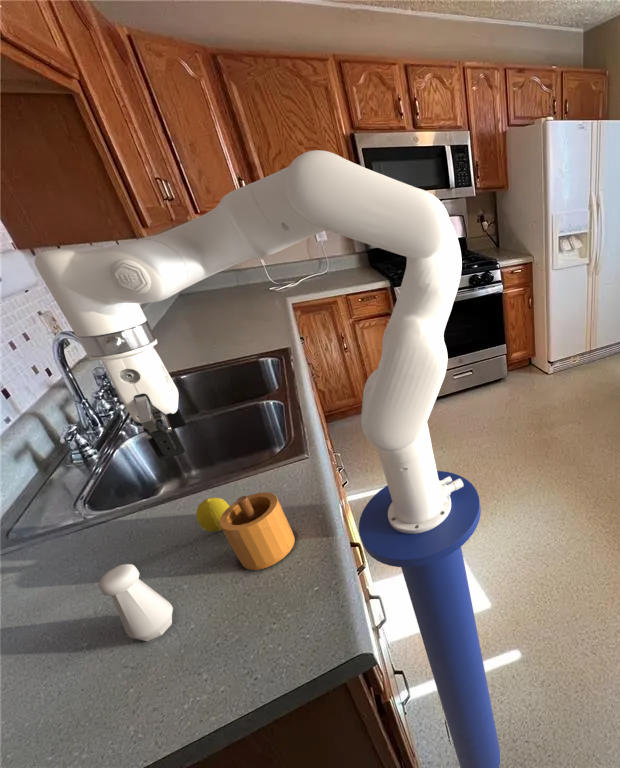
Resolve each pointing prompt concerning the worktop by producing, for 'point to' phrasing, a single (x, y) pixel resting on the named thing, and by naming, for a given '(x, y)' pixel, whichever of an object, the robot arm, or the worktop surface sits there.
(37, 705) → the worktop surface
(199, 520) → the lemon
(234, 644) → the worktop surface
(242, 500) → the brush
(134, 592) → the salt shaker
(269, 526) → the jar
